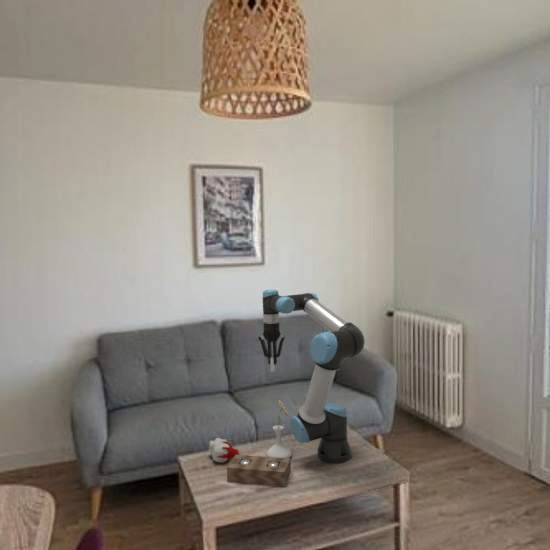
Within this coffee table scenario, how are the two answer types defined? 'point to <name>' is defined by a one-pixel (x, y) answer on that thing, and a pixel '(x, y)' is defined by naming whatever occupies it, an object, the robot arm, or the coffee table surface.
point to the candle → (222, 450)
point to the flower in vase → (279, 440)
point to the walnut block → (259, 470)
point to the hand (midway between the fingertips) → (272, 370)
